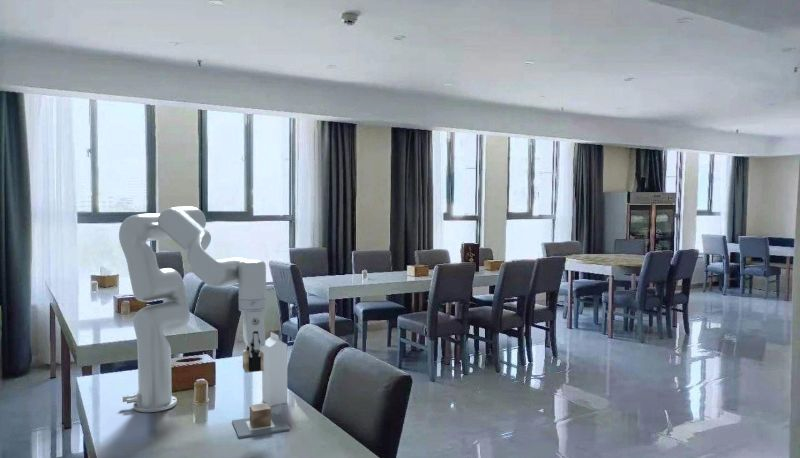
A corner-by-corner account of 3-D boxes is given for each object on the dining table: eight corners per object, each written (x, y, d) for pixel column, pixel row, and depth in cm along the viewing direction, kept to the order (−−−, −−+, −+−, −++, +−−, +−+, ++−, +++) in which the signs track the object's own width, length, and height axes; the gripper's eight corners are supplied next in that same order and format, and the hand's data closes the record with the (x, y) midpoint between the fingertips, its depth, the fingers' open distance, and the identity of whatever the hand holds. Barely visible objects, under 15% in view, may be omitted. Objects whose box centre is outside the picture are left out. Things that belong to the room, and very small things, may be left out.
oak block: (245, 372, 162) (245, 354, 161) (242, 367, 166) (242, 350, 166) (263, 370, 164) (263, 353, 163) (260, 365, 168) (260, 348, 168)
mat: (238, 438, 159) (238, 436, 159) (232, 422, 170) (232, 420, 170) (289, 430, 165) (289, 428, 165) (280, 415, 176) (280, 413, 176)
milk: (270, 406, 183) (269, 337, 181) (262, 401, 188) (261, 333, 186) (287, 402, 187) (287, 334, 185) (279, 397, 191) (279, 330, 190)
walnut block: (253, 428, 164) (252, 411, 164) (249, 422, 169) (249, 405, 168) (270, 425, 166) (270, 408, 166) (267, 419, 171) (267, 402, 170)
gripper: (271, 308, 157) (272, 375, 158) (261, 298, 173) (261, 358, 174) (243, 310, 154) (243, 378, 156) (234, 299, 170) (235, 361, 171)
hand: (253, 367), depth 165 cm, fingers closed on oak block, 5 cm apart
